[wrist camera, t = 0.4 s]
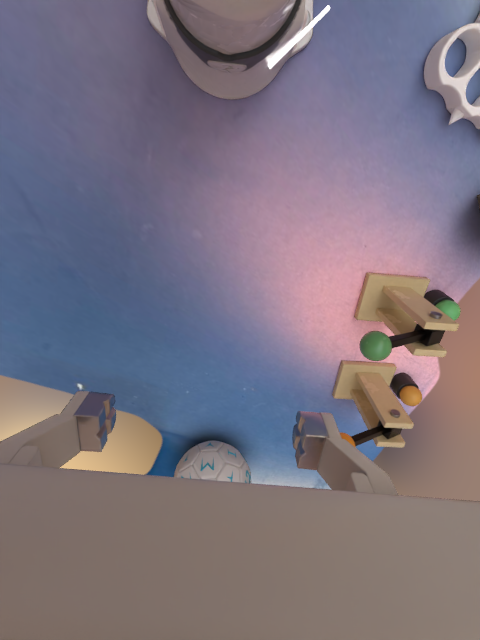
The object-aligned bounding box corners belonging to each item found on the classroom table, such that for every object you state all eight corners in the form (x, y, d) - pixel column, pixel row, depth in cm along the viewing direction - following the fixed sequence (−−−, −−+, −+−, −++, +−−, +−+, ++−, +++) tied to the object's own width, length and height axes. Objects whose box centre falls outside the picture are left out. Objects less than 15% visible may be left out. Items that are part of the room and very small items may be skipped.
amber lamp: (393, 372, 62) (408, 393, 56) (413, 373, 62) (430, 394, 57) (386, 389, 63) (401, 410, 58) (406, 390, 64) (422, 411, 58)
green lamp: (424, 288, 54) (446, 303, 49) (447, 290, 54) (471, 305, 49) (416, 310, 56) (436, 327, 50) (439, 312, 56) (460, 329, 51)
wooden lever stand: (353, 316, 56) (389, 363, 44) (366, 272, 52) (408, 309, 40) (410, 320, 57) (460, 367, 44) (426, 277, 53) (485, 315, 41)
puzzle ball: (166, 437, 68) (151, 507, 54) (233, 416, 65) (235, 483, 52) (196, 481, 74) (189, 553, 61) (258, 463, 72) (266, 534, 59)
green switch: (350, 353, 41) (372, 369, 38) (357, 328, 39) (381, 343, 36) (418, 336, 47) (442, 349, 44) (427, 314, 45) (452, 326, 42)
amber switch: (321, 449, 49) (338, 468, 46) (327, 431, 47) (344, 450, 44) (383, 424, 54) (401, 440, 52) (390, 408, 53) (409, 423, 50)
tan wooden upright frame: (332, 394, 64) (356, 452, 51) (341, 360, 60) (370, 414, 48) (381, 396, 64) (417, 454, 52) (393, 363, 61) (435, 417, 48)
